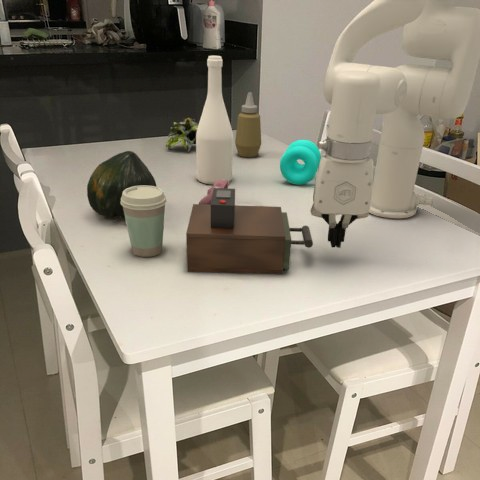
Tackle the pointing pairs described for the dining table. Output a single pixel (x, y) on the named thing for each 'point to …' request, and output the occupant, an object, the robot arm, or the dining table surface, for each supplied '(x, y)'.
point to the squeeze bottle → (248, 129)
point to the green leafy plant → (183, 133)
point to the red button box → (222, 208)
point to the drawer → (288, 241)
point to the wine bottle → (214, 131)
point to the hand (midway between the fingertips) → (335, 244)
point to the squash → (116, 182)
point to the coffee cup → (144, 218)
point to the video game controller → (208, 198)
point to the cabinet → (236, 241)
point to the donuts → (297, 171)
